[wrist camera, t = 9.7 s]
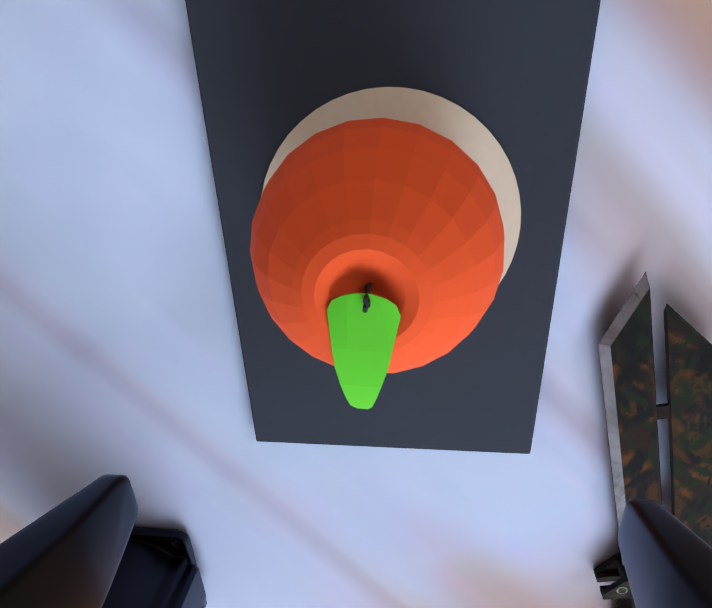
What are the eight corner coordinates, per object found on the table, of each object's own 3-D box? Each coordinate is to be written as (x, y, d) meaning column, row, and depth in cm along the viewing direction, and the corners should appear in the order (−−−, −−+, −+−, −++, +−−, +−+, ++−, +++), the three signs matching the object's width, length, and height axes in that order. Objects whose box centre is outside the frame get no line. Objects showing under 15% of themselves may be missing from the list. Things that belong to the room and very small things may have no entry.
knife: (592, 273, 18) (606, 289, 16) (796, 245, 17) (827, 260, 15) (593, 675, 28) (601, 704, 27) (718, 676, 27) (733, 706, 26)
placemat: (259, 432, 23) (255, 443, 22) (173, -119, 14) (162, -127, 13) (527, 444, 21) (530, 456, 21) (618, -157, 13) (629, -168, 12)
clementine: (467, 337, 19) (495, 480, 12) (287, 322, 19) (224, 451, 13) (503, 111, 15) (568, 147, 9) (280, 101, 16) (188, 127, 9)
